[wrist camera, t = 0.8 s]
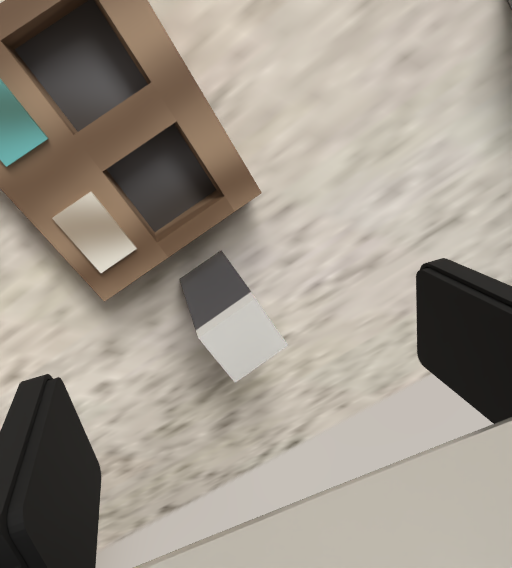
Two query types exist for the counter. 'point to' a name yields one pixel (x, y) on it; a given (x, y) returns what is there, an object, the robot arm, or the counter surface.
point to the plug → (229, 317)
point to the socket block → (109, 137)
